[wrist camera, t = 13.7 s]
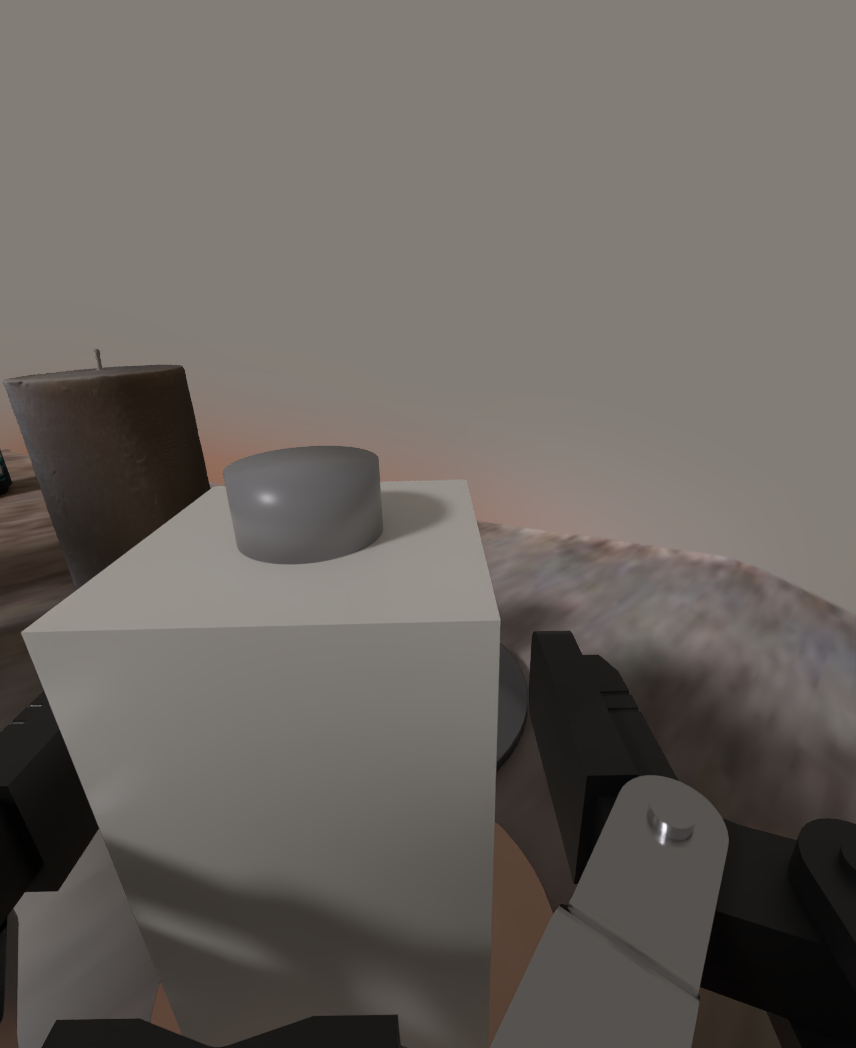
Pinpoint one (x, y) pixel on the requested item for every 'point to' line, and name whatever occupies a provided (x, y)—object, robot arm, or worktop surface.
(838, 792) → the worktop surface
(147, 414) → the pillar candle
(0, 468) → the beverage can
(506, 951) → the coaster
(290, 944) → the white block with knob
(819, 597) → the worktop surface
